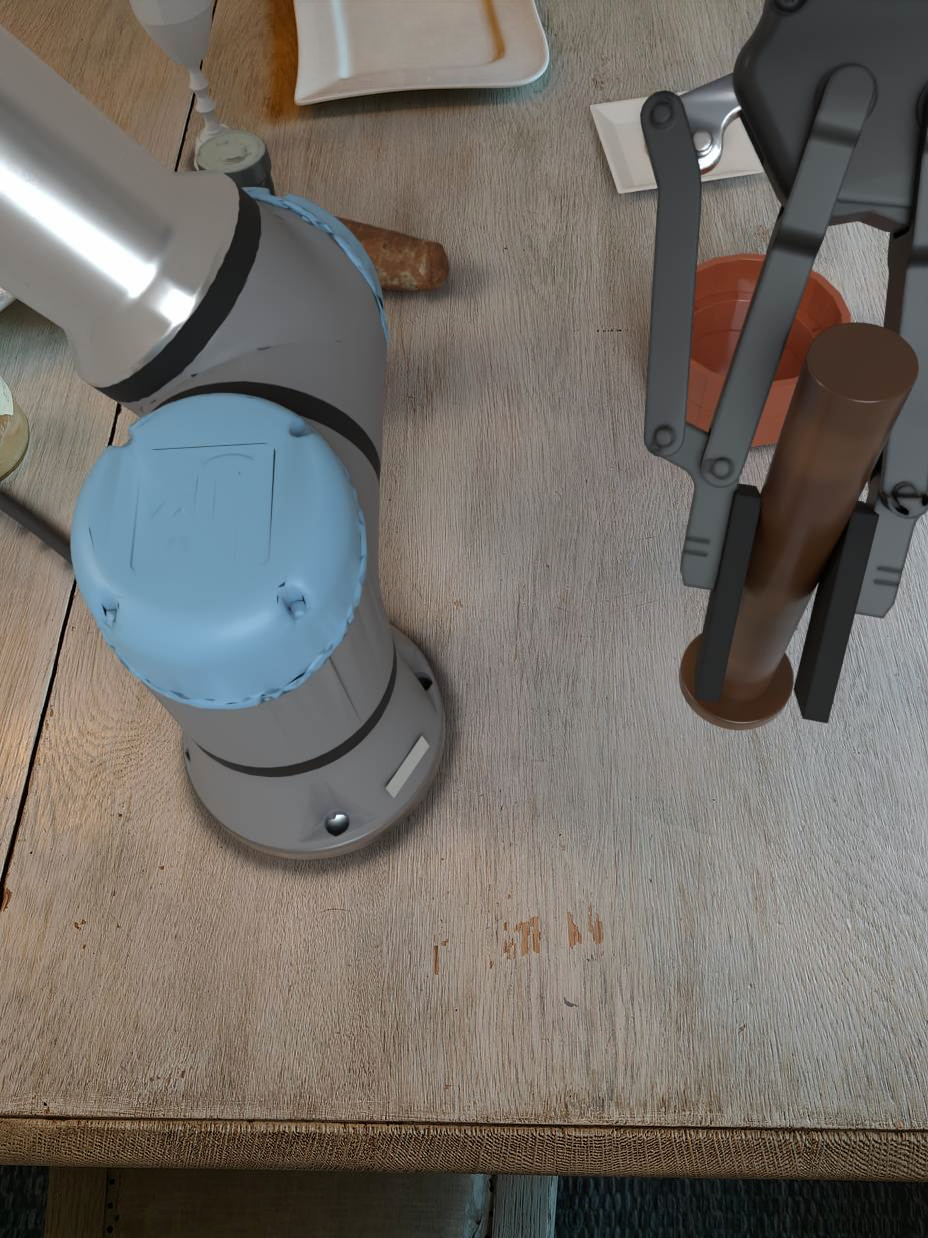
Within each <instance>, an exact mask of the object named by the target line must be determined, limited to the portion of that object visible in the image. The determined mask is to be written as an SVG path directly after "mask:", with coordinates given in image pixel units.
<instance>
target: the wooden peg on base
mask: <svg viewBox="0 0 928 1238" xmlns="http://www.w3.org/2000/svg"><path fill="white" fill-rule="evenodd" d="M918 372H919V363H918V359H917V356H916V354H915V352H914V350H913V348H912V347H911V346H910V345H909V343H908V342H907V341H906V340H905V339H903V338H902V337H901V336H899V335H898V334H896V333H895V332H893V331H891V330H889V329H887V328H884V327H883V326H881V325H878V324H874V323H868V322H857V321H856V322H854V321H853V322H852V321H851V323H843V324H839V325H835V326H832V327H830V328H828V329H826V330H824V331H823V332H821V333H820V334H819V335H817V336H816V337H815V338H814V339H813V341H812V342H811V344H810V345H809V348H808V350H807V353H806V356H805V359H804V362H803V365H802V368H801V371H800V374H799V377H798V380H797V383H796V387H795V390H794V393H793V396H792V399H791V402H790V405H789V408H788V411H787V414H786V417H785V420H784V423H783V426H782V429H781V432H780V435H779V438H778V441H777V443H775V448H774V451H773V453H772V457H771V460H770V463H769V465H768V469H767V473H766V475H765V477H764V480H763V484H762V487H761V490H760V497H761V498H762V502H761V507H760V512H759V517H758V521H757V526H756V531H755V536H754V540H753V545H752V550H751V554H750V559H749V564H748V569H747V573H746V578H745V583H744V588H743V592H742V597H741V602H740V607H739V611H738V616H737V621H736V625H735V630H734V635H733V640H732V644H731V649H730V654H729V659H728V663H727V668H726V673H725V678H724V682H723V687H722V692H721V697H720V701H719V703H715V702H709V701H704V700H699V699H695V686H694V670H695V665H696V660H697V655H698V650H699V645H700V640H701V635H702V632H700V633H699V634H697V636H695V637H694V638H693V639H692V640H691V641H690V642H689V644H688V645H687V647H686V649H685V650H684V652H683V655H682V657H681V661H680V664H679V669H678V684H679V688H680V691H681V694H682V696H683V699H684V700H685V702H686V703H687V705H688V706H689V708H690V709H691V710H692V711H693V712H694V713H695V714H696V715H697V716H699V718H701V719H702V720H704V721H705V722H707V723H709V724H711V725H713V726H716V727H719V728H720V729H725V730H731V731H750V730H755V729H758V728H761V727H763V726H765V725H768V724H770V723H771V722H772V721H774V720H775V719H776V718H777V717H778V716H779V715H780V714H781V713H782V711H784V709H785V707H786V706H787V703H788V701H789V700H790V698H791V696H792V693H793V691H794V690H793V689H794V685H795V675H794V668H793V666H792V662H791V660H790V657H788V655H787V653H786V651H787V649H788V647H789V645H790V642H791V641H792V639H793V636H794V634H795V632H796V630H797V628H798V627H799V624H800V622H801V620H802V618H803V616H804V613H805V612H806V609H807V607H808V605H809V603H810V601H811V599H812V597H813V595H814V593H815V592H816V590H817V587H818V583H819V581H820V578H821V576H822V574H823V572H824V570H825V568H826V566H827V564H828V562H829V560H830V558H831V556H832V554H833V552H834V549H835V547H836V545H837V543H838V541H839V539H840V537H841V535H842V533H843V531H844V529H845V527H846V525H847V523H848V520H849V518H850V516H851V514H852V512H853V510H854V508H855V506H856V504H857V502H858V501H860V500H859V499H860V498H861V495H862V494H863V492H864V489H865V487H866V485H867V481H868V479H869V477H870V475H871V473H872V471H873V469H874V467H875V465H876V462H877V460H878V458H879V456H880V454H881V452H882V450H883V448H884V446H885V444H886V442H887V440H888V438H889V436H890V433H891V431H892V429H893V427H894V425H895V423H896V421H897V419H898V417H899V415H900V413H901V411H902V409H903V407H904V404H905V402H906V400H907V398H908V396H909V394H910V392H911V390H912V388H913V386H914V384H915V382H916V380H917V377H918Z"/></svg>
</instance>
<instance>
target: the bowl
mask: <svg viewBox="0 0 928 1238" xmlns="http://www.w3.org/2000/svg"><path fill="white" fill-rule="evenodd" d="M765 255H766V254H762V253H748V252H747V253H744V252H743V253H734V254H728V255H722V256H717V257H716V256H715V257H713V258H710V259H708V260H706V261H703V262H701V263H697V273H696V287H695V301H694V315H693V329H692V344H691V358H690V372H689V386H688V400H687V414H686V421H688V422H690V423H692V424H693V425H695V426H697V427H699V428H701V429H703V430H705V431H706V432H708V430H709V426H710V423H711V420H712V417H713V414H714V411H715V408H716V405H717V402H718V399H719V396H720V393H721V390H722V387H723V384H724V381H725V378H726V375H727V371H728V368H729V365H730V362H731V359H732V356H733V353H734V350H735V347H736V344H737V341H738V338H739V335H740V332H741V329H742V326H743V323H744V319H745V316H746V313H747V310H748V307H749V304H750V301H751V298H752V295H753V292H754V289H755V286H756V283H757V280H758V277H759V274H760V271H761V267H762V264H763V261H764V258H765ZM851 322H852V315H851V312H850V309H849V308H848V305H847V303H846V301H845V299H844V298H843V295H842V294H841V292H840V291H839V290H838V289H837V287H835V286H834V285H833V284H832V283H831V282H830V281H829V280H828V279H827V278H826V277H824V276H823V275H822V274H821V273H819V272H817V271H815V270H813V269H812V270H811V273H810V276H809V279H808V282H807V284H806V287H805V290H804V293H803V296H802V299H801V302H800V305H799V308H798V311H797V314H796V317H795V319H794V322H793V325H792V328H791V331H790V334H789V337H788V340H787V343H786V346H785V349H784V351H783V354H782V357H781V360H780V363H779V366H778V369H777V372H776V375H775V378H774V381H773V384H772V386H771V389H770V392H769V395H768V398H767V401H766V404H765V407H764V410H763V413H762V416H761V419H760V421H759V424H758V427H757V430H756V433H755V436H754V439H753V442H752V445H751V448H754V447H761V446H766V445H767V446H768V445H773V444H774V445H775V444H777V441H778V438H779V435H780V432H781V429H782V426H783V423H784V420H785V417H786V414H787V411H788V408H789V405H790V402H791V399H792V396H793V393H794V390H795V387H796V383H797V380H798V377H799V374H800V371H801V368H802V365H803V362H804V359H805V356H806V353H807V350H808V348H809V345H810V344H811V342H812V341H813V339H814V338H815V337H816V336H817V335H819V334H820V333H821V332H823V331H824V330H826V329H828V328H830V327H832V326H835V325H839V324H843V323H851Z"/></svg>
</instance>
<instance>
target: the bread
mask: <svg viewBox="0 0 928 1238" xmlns="http://www.w3.org/2000/svg"><path fill="white" fill-rule="evenodd" d="M334 216H335V217H336V218H337V219H338V220H339V221H341V222H342V223H343V224H344V225H345V226H346V227H347V228H348V229H349V230H350V231H351V232H352V233H353V234H354V236H355V237H356V238H357V239H358V241H359V242H360V243H361V245H362V246H363V247H364V249H365V251H366V252H367V254H368V256H369V257H370V259H371V261H372V263H373V265H374V268H375V270H376V273H377V275H378V278H379V281H380V285H381V289H382V290H383V289H384V290H396V291H406V292H407V291H408V292H410V291H411V292H412V291H413V292H414V291H415V292H434V291H436V290H438V289H439V288H441V287H443V286H444V285H445V283H446V282H447V279H448V277H449V272H450V263H449V256H448V255H447V253H446V251H445V247H444V246H443V244H442V243H440V242H438V241H434V240H430V239H423V238H420V237H416V236H413V235H410V234H406V233H403V232H400V231H395V230H393V229H388V228H384V227H380V226H376V225H374V224H369V223H365V222H361V221H357V220H352V219H348V218H344V217H340V216H338V215H334Z"/></svg>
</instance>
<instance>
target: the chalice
mask: <svg viewBox="0 0 928 1238" xmlns="http://www.w3.org/2000/svg"><path fill="white" fill-rule="evenodd" d="M128 1H129V4H130V6H131V9H132V12H133V14H134V17H135V19H136V20H137V21H138V22H139V24H140V26H142V29H144V31H145V32H146V33H147V35H148V36H149V37H150V39H151V40H152V41H153V43H155V44H156V45H157V46H158V48H160V49H161V50H162V52H164V54H165V55H166V56H167V57H168V58H169V59H170V60H171V61H172V62H173V63H174V64H175V65H179V66H185V67H186V69H187V70H188V75H189V84H188V87H189V89H190V90H191V91H192V92H193V93H194V94H195V96H196V104H195V106H194V110H195V111H196V112H198V113H199V114H200V115H201V116H202V118H203V120H204V127H203V128H202V129H201V130H200V131H199V132H198V134H197V137H196V138H195V143H194V144H195V148H194V158H193V167H194V168H195V171H199V169H198V166H197V163H196V154H197V152H198V149H199V147H200V146H201V145H202V144H203V143H204V142H205V141H206V140H207V139H209V138H211V137H213V136H215V135H218V134H220V133H223V132H228V131H235V130H234V129H233V128H231V127H230V126H229V125H226V124H223V123H219V122H218V120H217V119H216V116H215V114H216V113H215V108H216V107H217V102H216V101H215V100H214V99H212V98H211V97H210V95H209V94H208V86H209V84H210V83H209V80H208V79H207V78H205V76H204V74H203V73H202V71H201V68H200V62H201V61H203V60H204V59H205V58H206V57H207V56H208V50H209V43H210V37H211V31H212V24H213V3H214V1H213V0H128Z"/></svg>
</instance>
